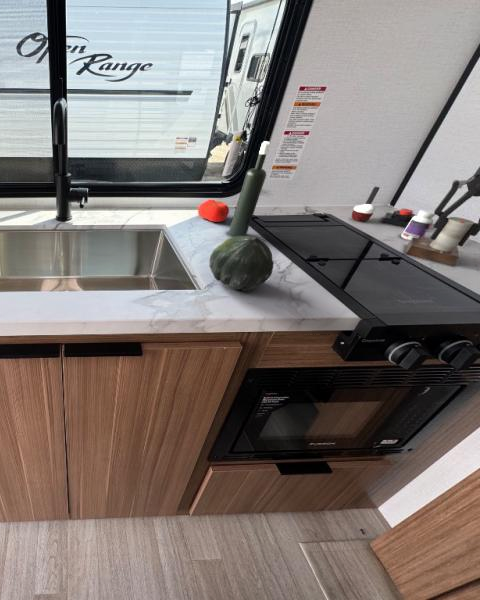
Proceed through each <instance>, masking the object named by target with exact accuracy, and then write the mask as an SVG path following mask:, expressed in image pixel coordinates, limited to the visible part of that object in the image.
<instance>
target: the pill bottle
mask: <svg viewBox="0 0 480 600" xmlns="http://www.w3.org/2000/svg"><path fill="white" fill-rule="evenodd" d="M435 216H436V215H435V214H434V211H433V210H430V209H420V210H419V211H418V213H417V214H416V216H414V217H413V218H412V219H411V221H410V222H409V224H408V225H407V227H406V228H405V229H404V230H403V232H402V234H401V238H403V239H405V240H409V241H411V239H412V238H413V237H414V238H418V239H423V238H424V237H425V235H426V233H427V232H428V230H429V229H430V227H431V226H432V225H433V223H434V219H433V218H434V217H435Z"/></svg>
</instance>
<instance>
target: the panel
mask: <svg viewBox="0 0 480 600" xmlns="http://www.w3.org/2000/svg"><path fill="white" fill-rule="evenodd" d="M431 242H432V240H427V239H423V238H422V239H418V238H414V237H413V238H412V239H411V240H409V242H408V243H407V246H406V250H405V255H408V256H412V257H416V258H419V259H423V260H427V261H431V262H435V263H440V264H444V265H448V266H451V267H452V266H454V264H455V263H456V262H457V260H458V259H459V258H460V254H463V253H464V252H463V251H459V247H458V246H457V247H456V248H455V249H454V251H453V252H445V251H440V250H437V249H434V248H432V247H430V243H431Z"/></svg>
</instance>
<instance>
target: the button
mask: <svg viewBox="0 0 480 600" xmlns="http://www.w3.org/2000/svg"><path fill="white" fill-rule="evenodd" d="M399 211H400V212H399V214H402V215H408V216H411V214H412V213H413V214H414V210H412V209H409V208H401V209H400V210H399Z"/></svg>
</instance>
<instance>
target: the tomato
mask: <svg viewBox="0 0 480 600" xmlns="http://www.w3.org/2000/svg"><path fill="white" fill-rule="evenodd" d="M197 214H198V215H199V217H201V218H203V219H205V220H208V221H210V222H213V223H216V222H218V223H220V222H221V223H222V222H223V221H225V220H226V219H227V218H228V216H229V214H230V207H229V206H228V205H227V204H226V203H224V202H222V201H220V200H214V199H207V200H205V201H204V202H202V203H200V205H199V206H198V208H197Z"/></svg>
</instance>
